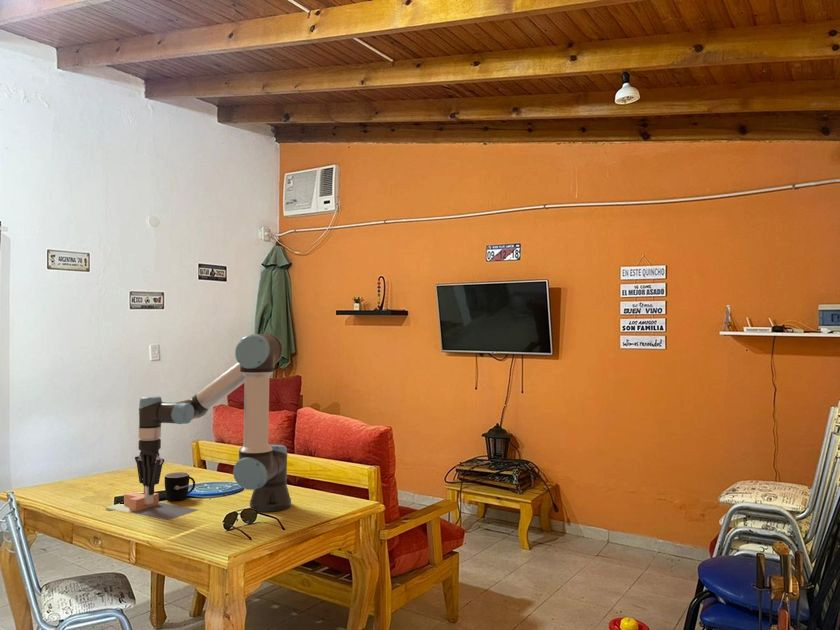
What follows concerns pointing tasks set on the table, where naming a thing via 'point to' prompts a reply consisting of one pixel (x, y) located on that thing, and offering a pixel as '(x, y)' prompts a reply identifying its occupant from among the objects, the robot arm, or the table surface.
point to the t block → (139, 501)
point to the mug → (177, 486)
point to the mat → (156, 510)
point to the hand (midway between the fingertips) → (148, 503)
